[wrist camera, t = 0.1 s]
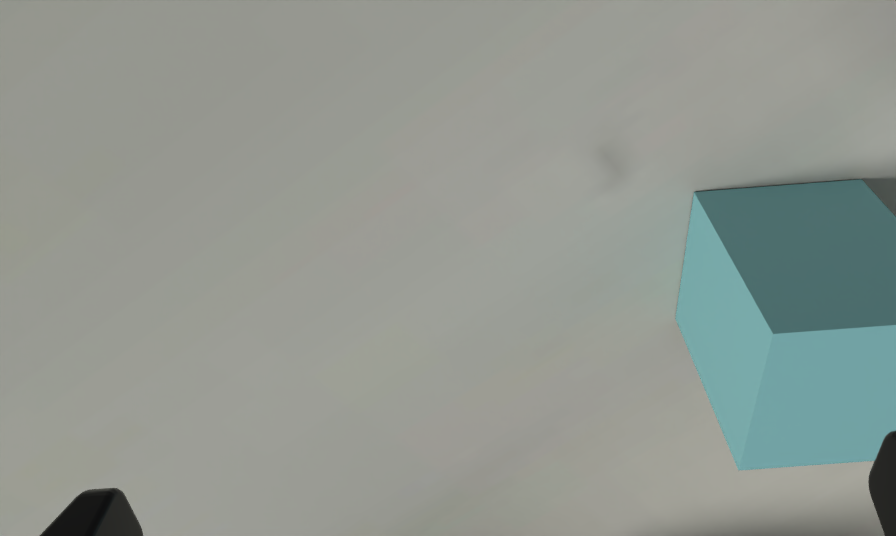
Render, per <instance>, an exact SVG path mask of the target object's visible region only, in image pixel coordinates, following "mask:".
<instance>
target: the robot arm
mask: <svg viewBox="0 0 896 536" xmlns="http://www.w3.org/2000/svg"><path fill="white" fill-rule="evenodd" d="M869 490H870V494H871V498H872V500H873V503H874V506H875V509H876V511H877V514H878V517H879V520H880V523H881V525H882V528H883V531H884V534H885V536H896V431H891V432H890V433H888V434H887V435H886V436H885V438H884V440H883V442H882V444H881V447H880V449H879V452H878V454H877V457H876V459H875V461H874V464H873V466H872V469H871V471H870V475H869ZM40 536H143V533H142V529H141V526H140V524H139V522H138V520H137V518H136V516H135V514H134V512H133V510H132V508H131V506H130V504H129V502H128V501H127V499H126V497H125V495H124V493H123V492H122V491H121V490H119V489H117V488H105V489H92V490H87V491H84V492H82V493H81V494H80V495H78V496H77V497H76V498H75V499H74V500H73V501H72V502H71V503H70V504H69V505H68V506H67V507H66V509H65V510H64V511H63V512H62V513H61V514H60V515H59V516H58V517H57V518H56V519H55V520H54V521H53V522H52V523H51V524H50V525H49V526H48V527H47V529H46V530H45V531H44V532H43V533H42V534H41V535H40Z"/></svg>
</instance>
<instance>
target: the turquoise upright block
mask: <svg viewBox="0 0 896 536" xmlns="http://www.w3.org/2000/svg"><path fill="white" fill-rule="evenodd" d="M675 319H676V321H677V323H678V326H679V328H680V331H681V333H682V335H683V338H684V340H685V343H686V345H687V347H688V350H689V352H690V355H691V357H692V359H693V362H694V364H695V367H696V369H697V371H698V374H699V376H700V379H701V381H702V383H703V386H704V388H705V391H706V393H707V395H708V398H709V400H710V403H711V405H712V407H713V410H714V412H715V415H716V417H717V419H718V422H719V424H720V427H721V429H722V432H723V434H724V436H725V439H726V441H727V444H728V446H729V448H730V451H731V453H732V456H733V458H734V460H735V463H736V465H737V468H738V470H751V469H765V468H779V467H793V466H807V465H821V464H834V463H848V462H862V461H875V459H876V457H877V454H878V452H879V449H880V447H881V444H882V442H883V440H884V438H885V436H886V435H887V434H888V433H890V432H891V431H896V217H895V215H894V214H893V213H892V212H891V211H890V210H889V209H888V208H887V207H886V206H885V205H884V203H883V202H882V201H881V200H880V199H879V198H878V197H877V196H876V195H875V194H874V192H873V191H872V190H871V189H870V188H869V187H868V186H867V185H866V184H865V183H864V181H863V180H862V179H859V180H846V181H833V182H819V183H806V184H793V185H780V186H767V187H753V188H740V189H727V190H714V191H701V192H694V196H693V202H692V209H691V216H690V223H689V230H688V236H687V243H686V250H685V257H684V263H683V270H682V277H681V284H680V291H679V297H678V304H677V311H676V318H675Z"/></svg>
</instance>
